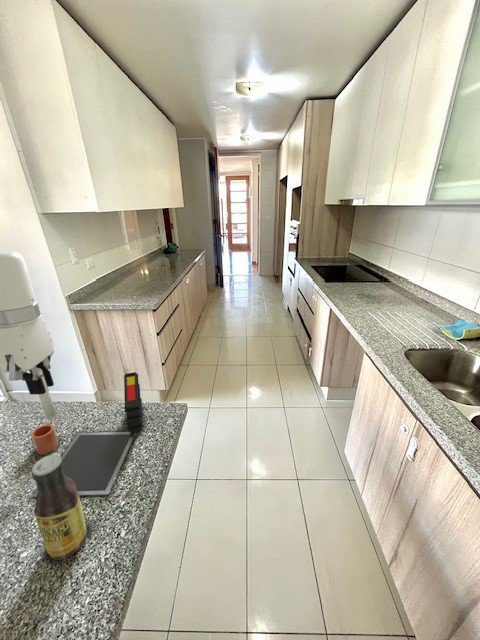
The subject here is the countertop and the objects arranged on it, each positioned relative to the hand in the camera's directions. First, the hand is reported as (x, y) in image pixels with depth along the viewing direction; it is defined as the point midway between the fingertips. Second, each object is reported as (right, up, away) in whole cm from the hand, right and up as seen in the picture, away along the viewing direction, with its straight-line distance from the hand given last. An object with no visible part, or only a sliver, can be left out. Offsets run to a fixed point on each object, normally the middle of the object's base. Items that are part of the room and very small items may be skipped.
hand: (42, 389), depth 59 cm
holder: (-5, -18, +9) cm, 21 cm away
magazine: (+14, -15, +18) cm, 28 cm away
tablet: (+8, -20, +5) cm, 22 cm away
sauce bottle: (+13, -26, -11) cm, 31 cm away
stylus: (0, -8, +3) cm, 9 cm away
